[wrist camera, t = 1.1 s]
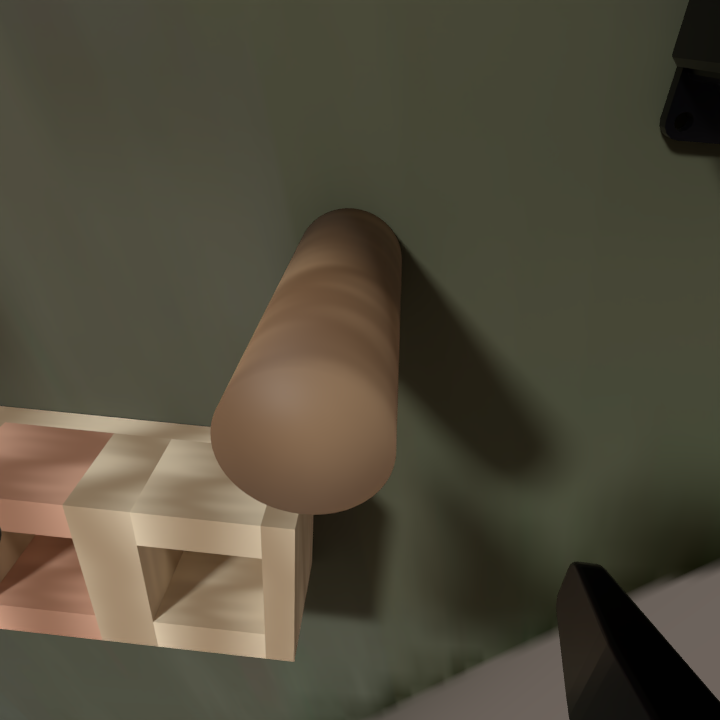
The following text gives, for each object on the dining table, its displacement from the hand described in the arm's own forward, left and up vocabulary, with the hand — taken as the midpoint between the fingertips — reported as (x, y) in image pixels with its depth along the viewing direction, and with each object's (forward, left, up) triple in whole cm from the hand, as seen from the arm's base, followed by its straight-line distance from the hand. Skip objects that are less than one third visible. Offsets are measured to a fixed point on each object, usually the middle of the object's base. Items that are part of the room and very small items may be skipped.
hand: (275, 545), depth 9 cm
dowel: (0, 0, -12) cm, 12 cm away
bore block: (+8, +12, -12) cm, 19 cm away
